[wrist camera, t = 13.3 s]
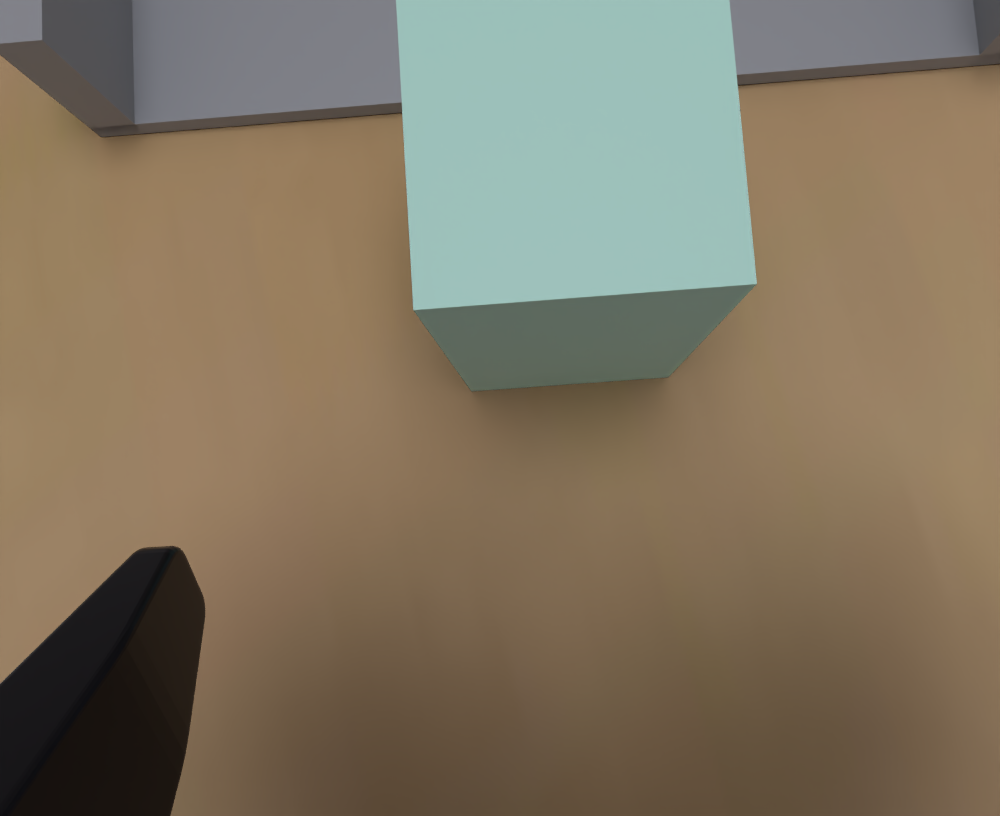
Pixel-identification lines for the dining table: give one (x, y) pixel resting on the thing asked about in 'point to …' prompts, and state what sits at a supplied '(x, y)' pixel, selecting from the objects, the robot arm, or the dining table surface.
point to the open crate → (375, 53)
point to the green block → (572, 184)
